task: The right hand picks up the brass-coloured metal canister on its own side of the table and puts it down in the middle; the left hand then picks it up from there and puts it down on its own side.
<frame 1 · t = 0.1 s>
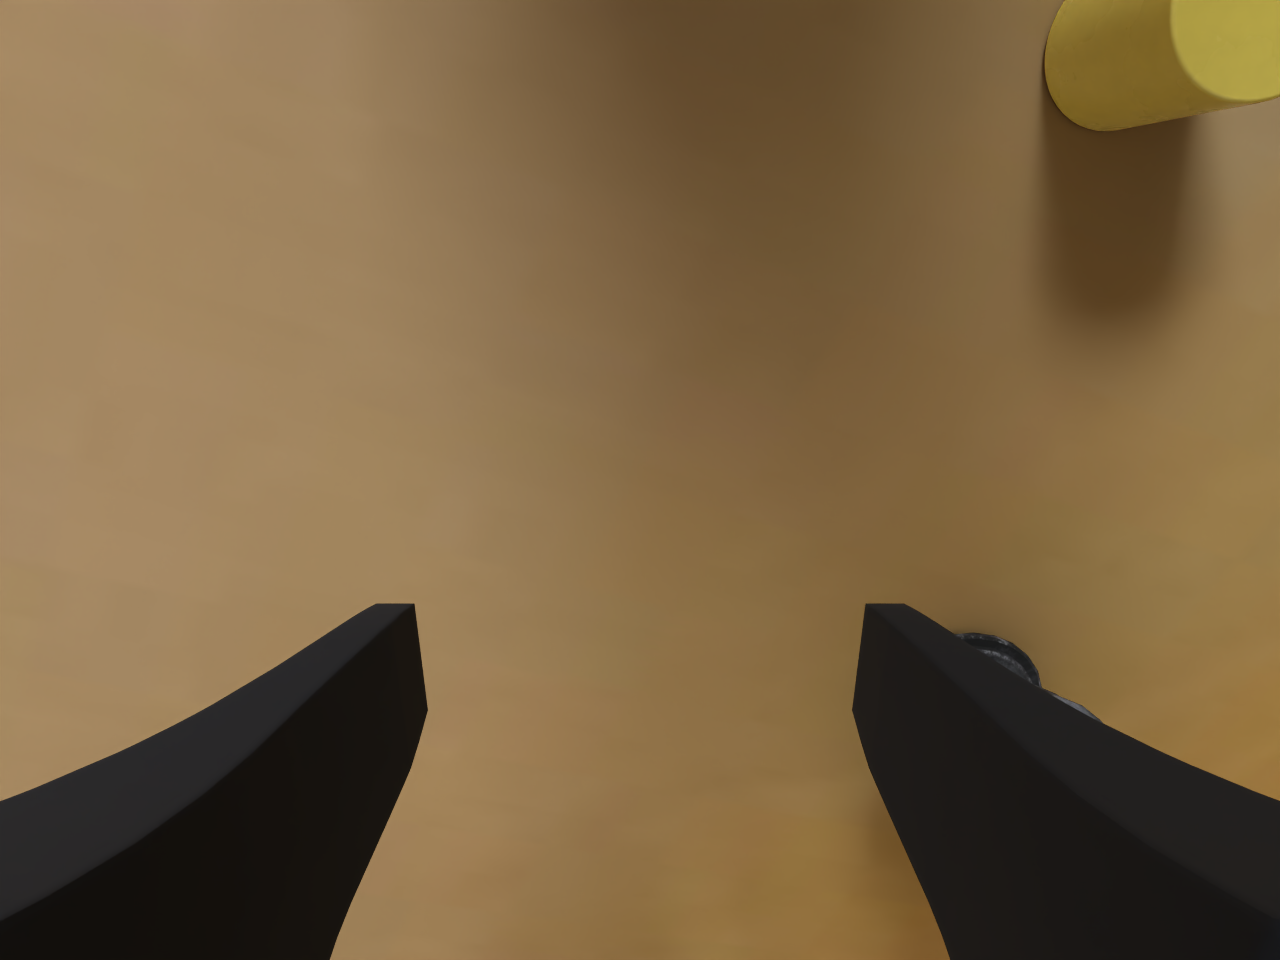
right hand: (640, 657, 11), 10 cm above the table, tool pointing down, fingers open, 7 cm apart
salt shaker: (956, 697, 24), on the table
canister: (1120, 46, 17), on the table
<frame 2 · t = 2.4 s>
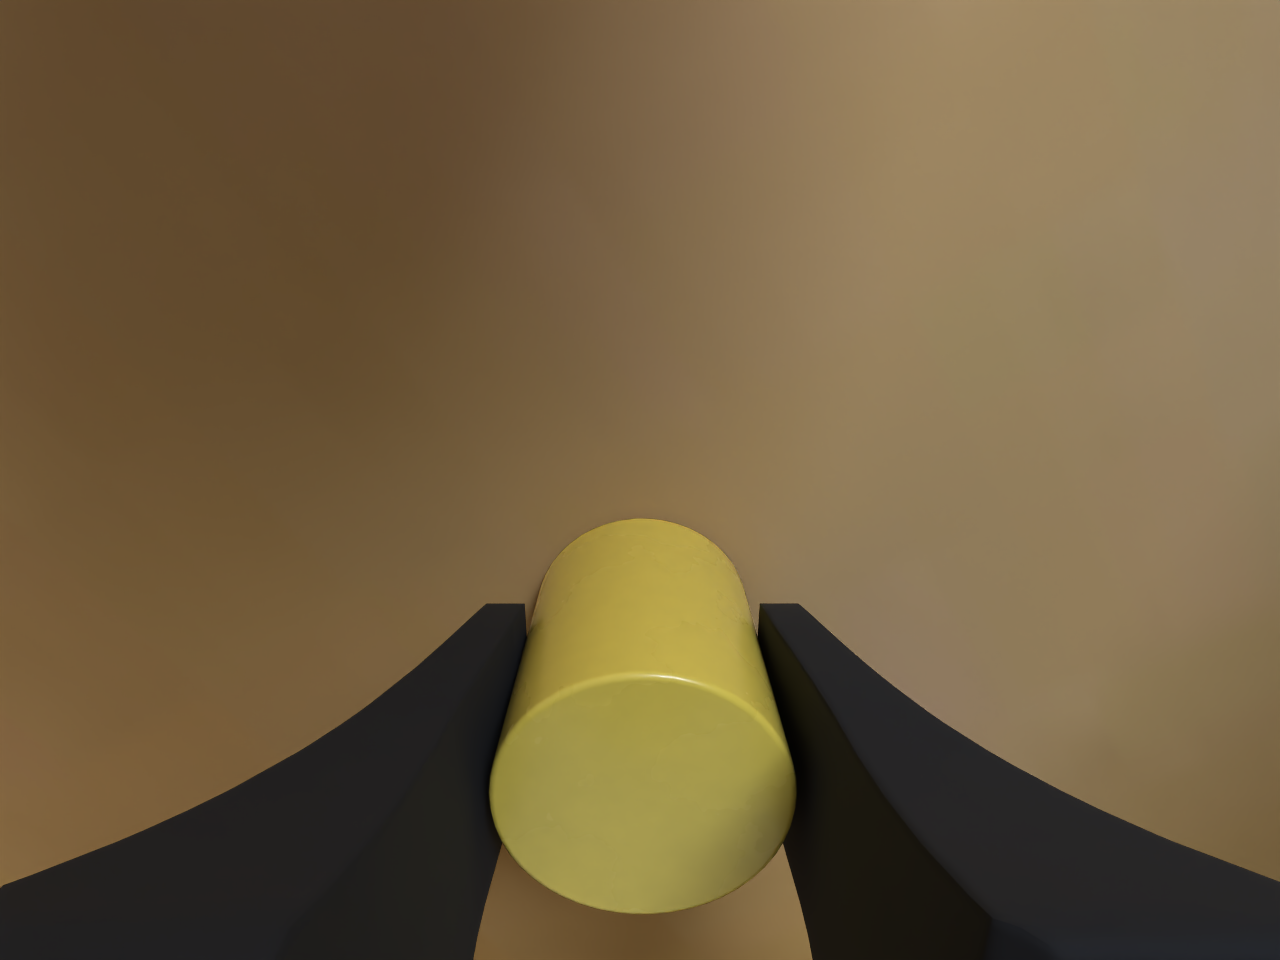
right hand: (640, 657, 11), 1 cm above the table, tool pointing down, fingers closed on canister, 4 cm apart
canister: (641, 612, 13), on the table, touching right hand
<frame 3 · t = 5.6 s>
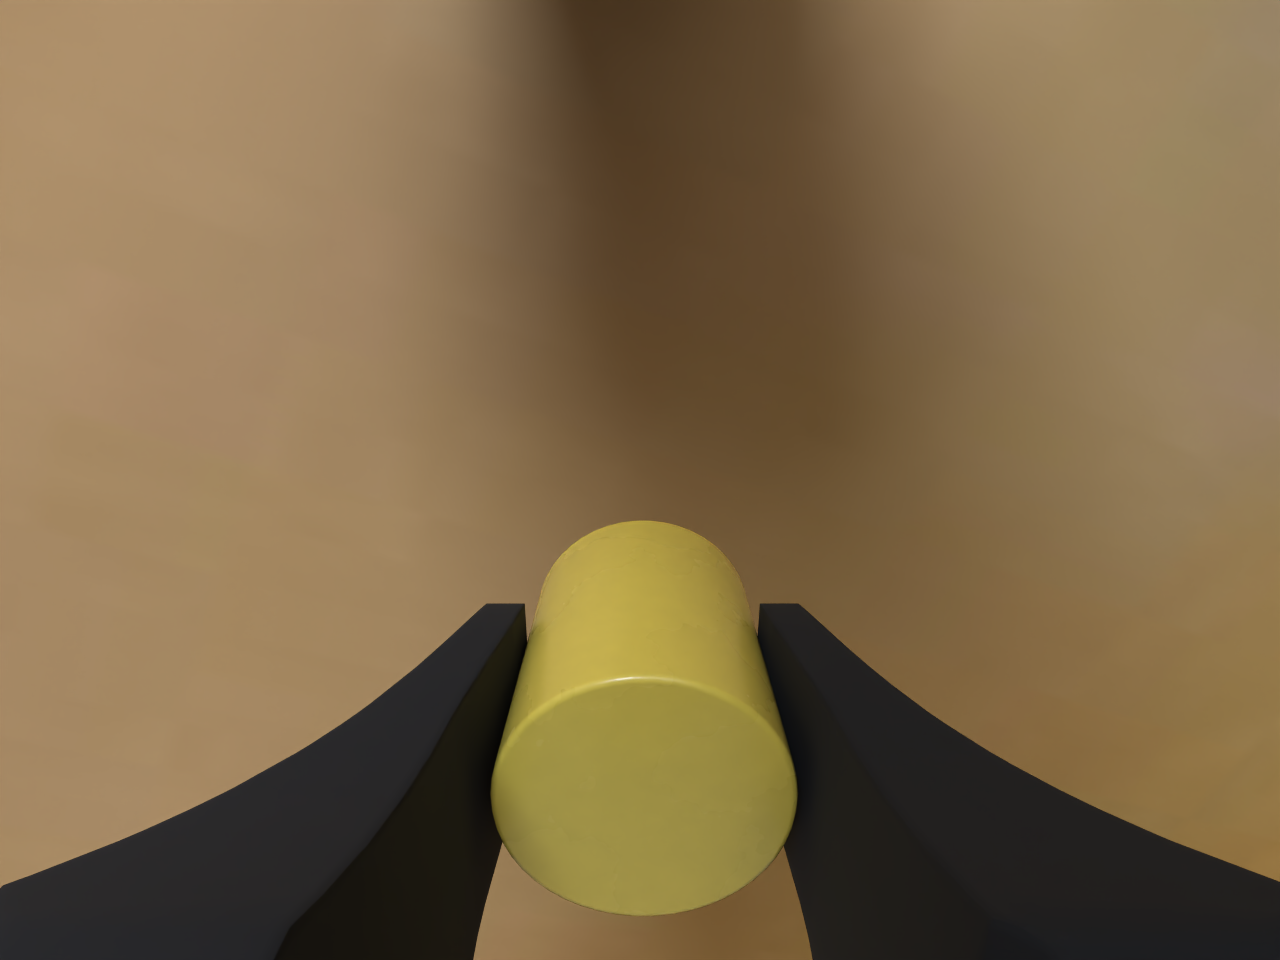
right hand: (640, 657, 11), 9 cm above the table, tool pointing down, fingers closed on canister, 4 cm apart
canister: (642, 613, 13), point 8 cm above the table, touching right hand
when the right hand's fingers open (3 cm above the table, at t = 8.9 s): canister drops 1 cm, on the table.
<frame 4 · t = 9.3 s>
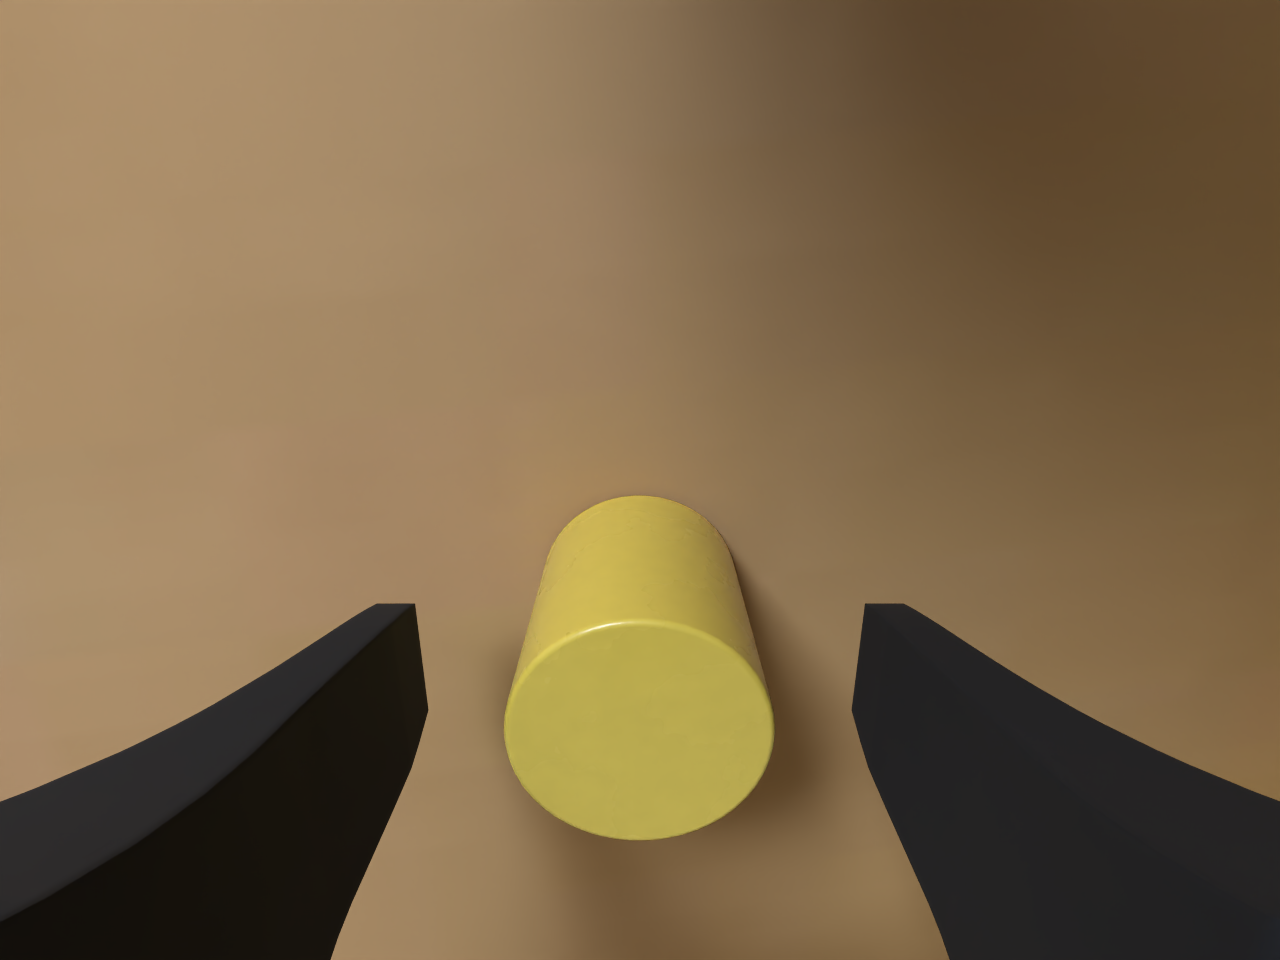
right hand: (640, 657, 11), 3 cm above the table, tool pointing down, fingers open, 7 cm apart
canister: (639, 582, 14), on the table
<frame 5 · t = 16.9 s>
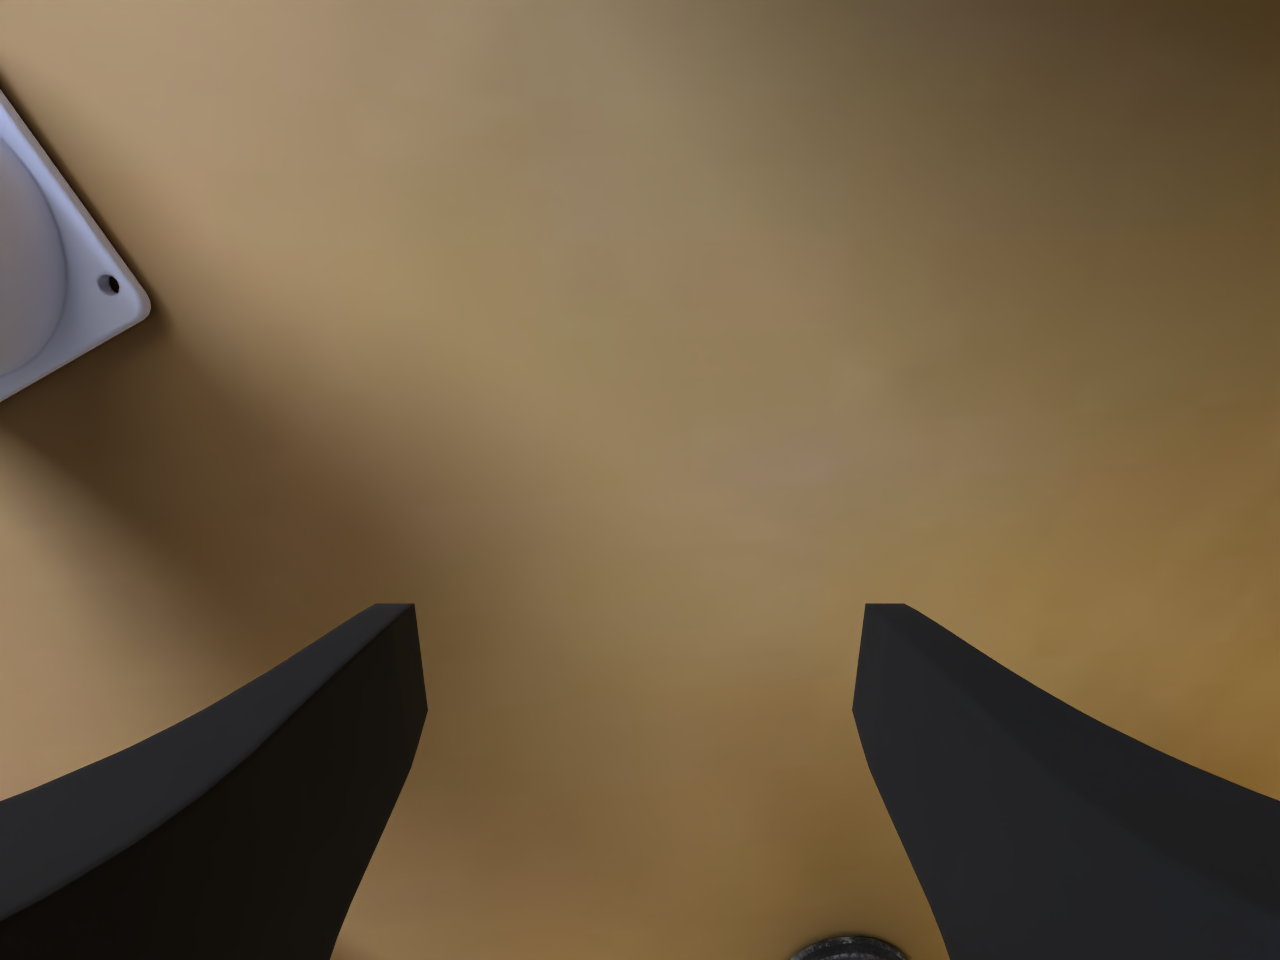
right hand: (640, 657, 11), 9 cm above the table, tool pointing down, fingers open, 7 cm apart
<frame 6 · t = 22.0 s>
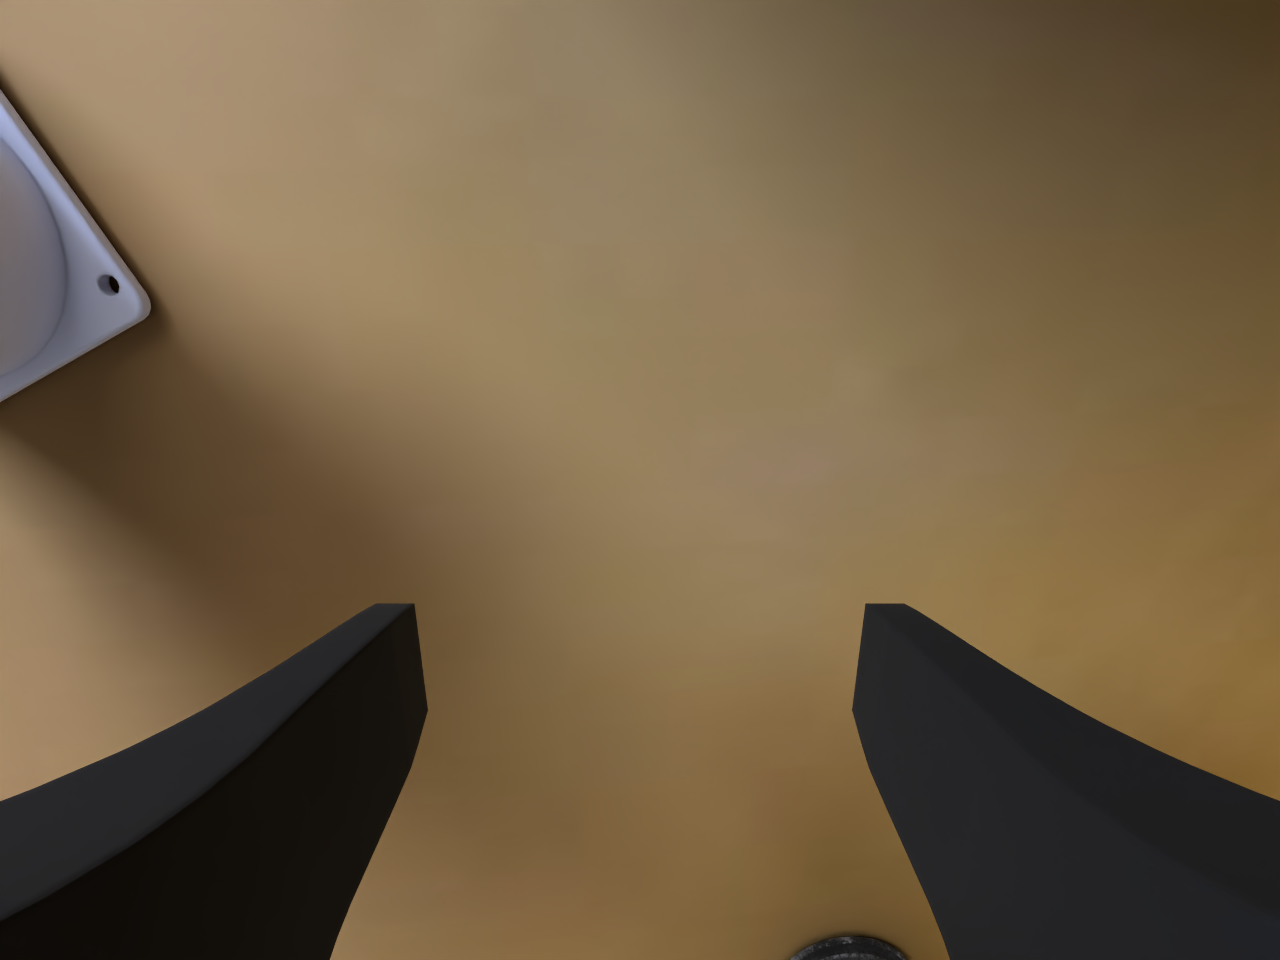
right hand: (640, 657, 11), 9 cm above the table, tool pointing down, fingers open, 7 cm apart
when the left hand's fingers open (1 cm above the table, at t = 27.1 s): canister stays where it is, on the table.
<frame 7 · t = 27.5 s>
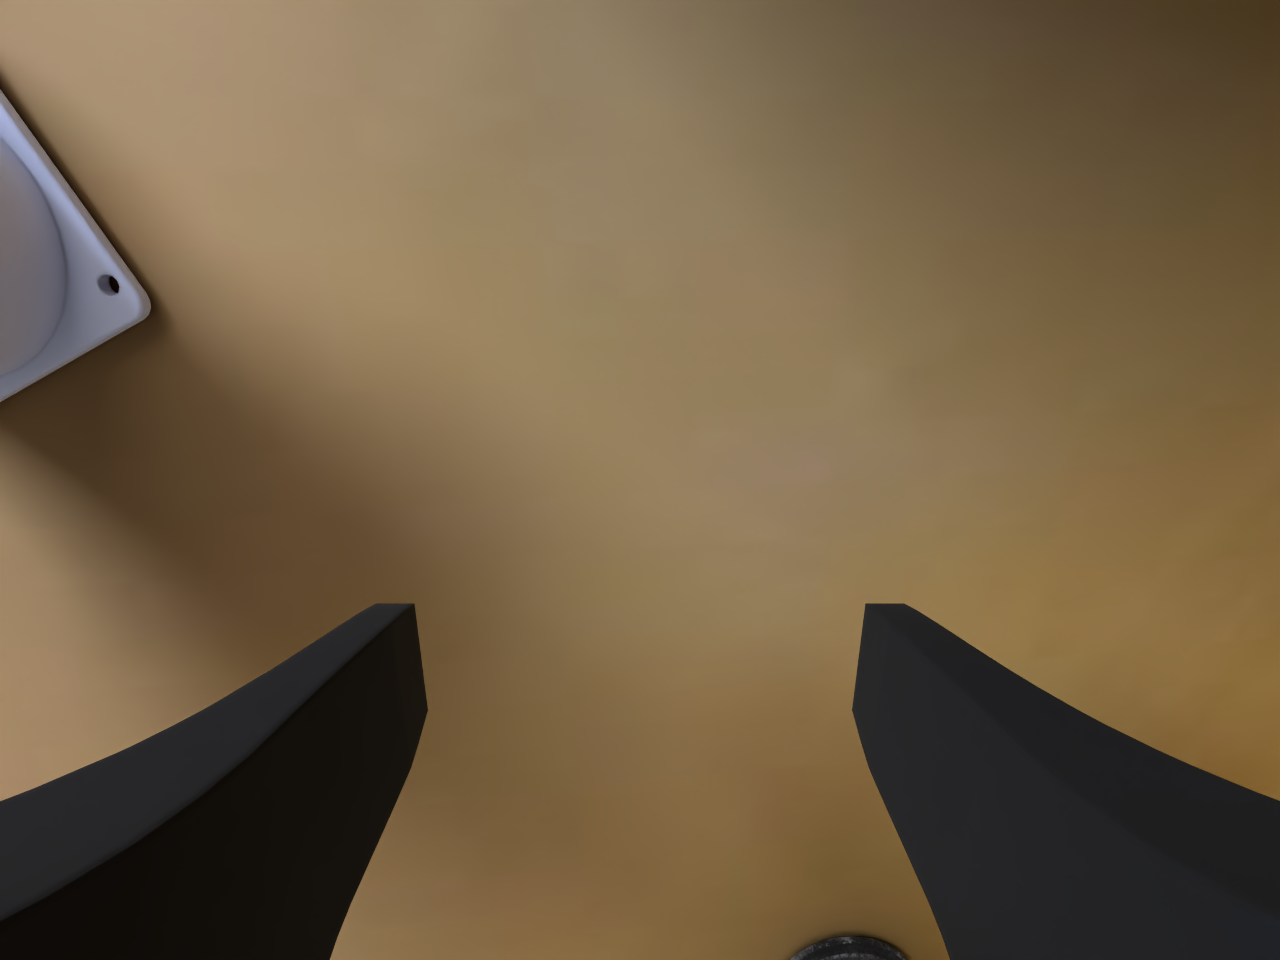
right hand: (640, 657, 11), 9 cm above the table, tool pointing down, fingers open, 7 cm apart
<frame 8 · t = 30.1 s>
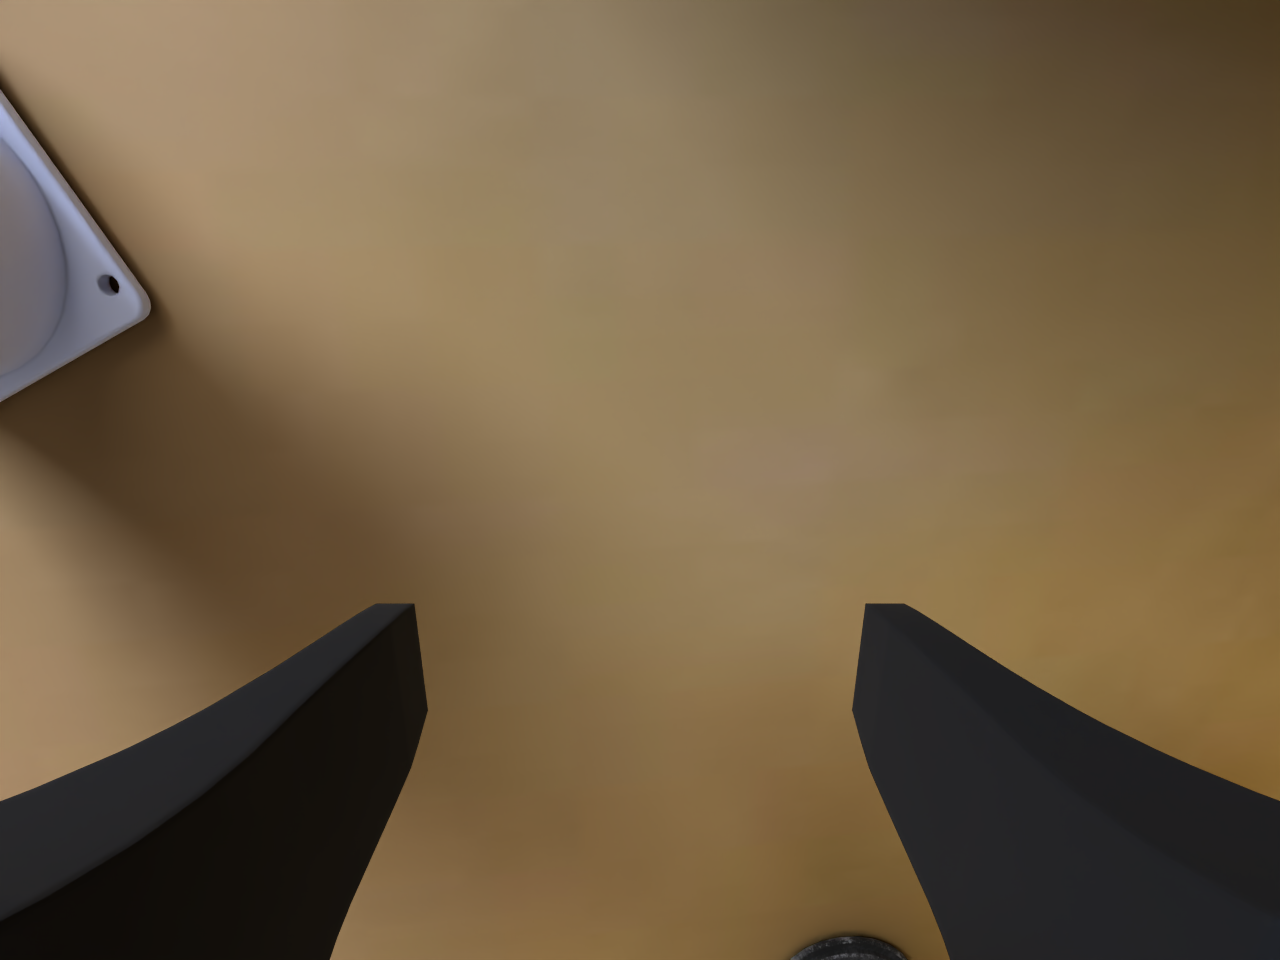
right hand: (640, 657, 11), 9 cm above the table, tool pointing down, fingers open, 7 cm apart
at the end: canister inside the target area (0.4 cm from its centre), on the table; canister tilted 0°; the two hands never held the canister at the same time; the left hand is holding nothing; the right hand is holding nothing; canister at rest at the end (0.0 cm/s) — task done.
